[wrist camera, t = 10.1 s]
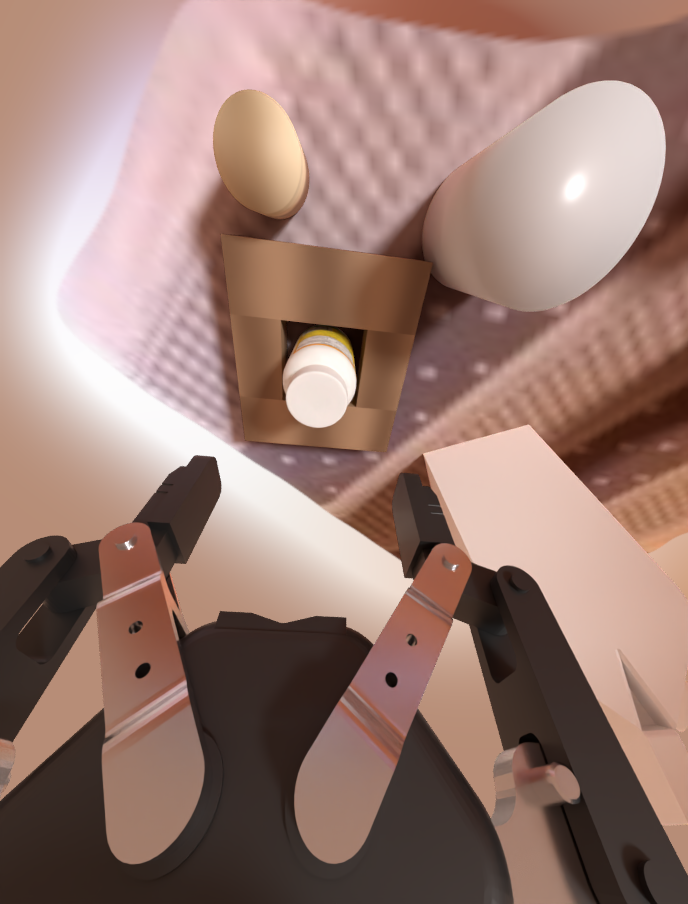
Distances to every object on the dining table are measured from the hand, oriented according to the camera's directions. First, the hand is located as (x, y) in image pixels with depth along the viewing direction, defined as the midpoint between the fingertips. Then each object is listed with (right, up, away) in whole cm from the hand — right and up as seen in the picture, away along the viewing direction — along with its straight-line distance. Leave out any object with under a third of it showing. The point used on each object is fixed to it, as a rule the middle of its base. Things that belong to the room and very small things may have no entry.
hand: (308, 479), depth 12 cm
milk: (+18, -2, +23) cm, 29 cm away
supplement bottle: (0, +10, +13) cm, 17 cm away
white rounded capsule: (+11, +17, +8) cm, 22 cm away
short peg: (-3, +20, +6) cm, 21 cm away
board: (0, +10, +13) cm, 17 cm away
